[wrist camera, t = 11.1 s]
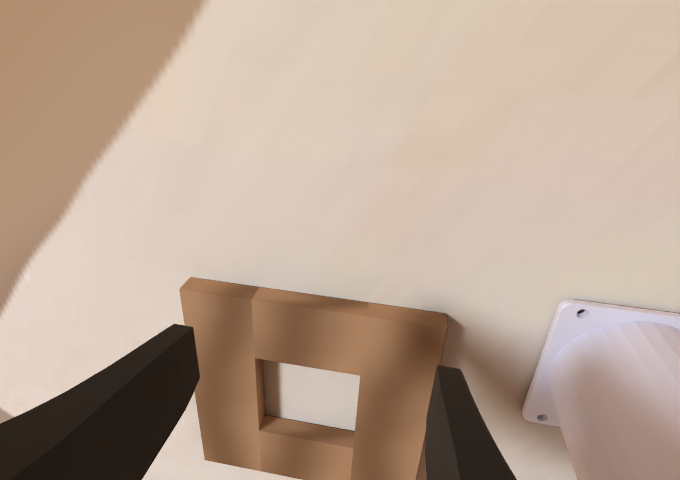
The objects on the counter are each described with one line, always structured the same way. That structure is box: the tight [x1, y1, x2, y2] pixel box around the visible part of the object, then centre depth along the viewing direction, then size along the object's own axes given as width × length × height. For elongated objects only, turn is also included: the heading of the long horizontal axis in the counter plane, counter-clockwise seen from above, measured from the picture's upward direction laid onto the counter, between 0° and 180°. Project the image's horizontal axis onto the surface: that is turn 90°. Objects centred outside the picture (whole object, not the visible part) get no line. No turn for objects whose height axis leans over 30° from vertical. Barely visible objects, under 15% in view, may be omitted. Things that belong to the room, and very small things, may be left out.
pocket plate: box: [179, 277, 447, 480], centre depth 25 cm, size 14×14×1 cm
